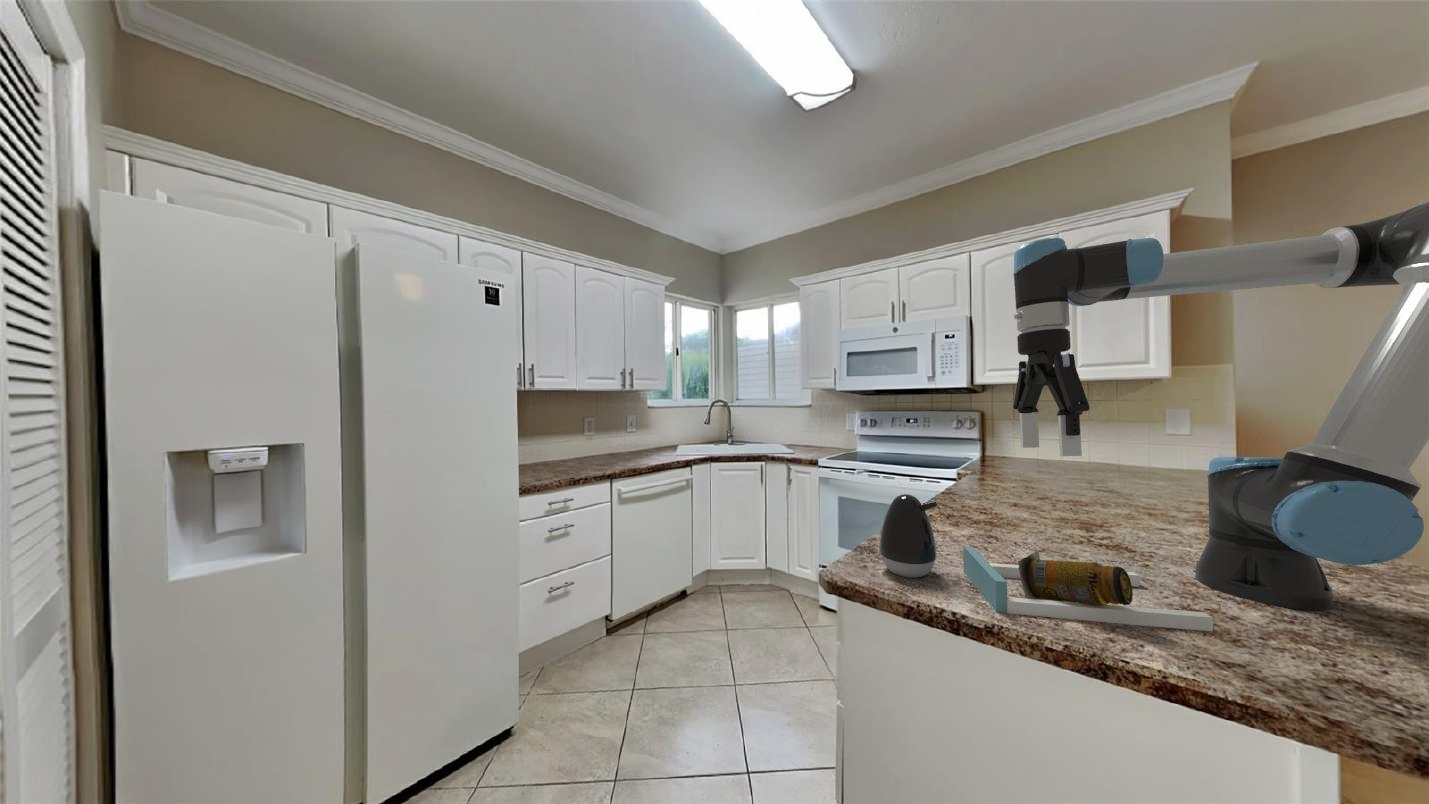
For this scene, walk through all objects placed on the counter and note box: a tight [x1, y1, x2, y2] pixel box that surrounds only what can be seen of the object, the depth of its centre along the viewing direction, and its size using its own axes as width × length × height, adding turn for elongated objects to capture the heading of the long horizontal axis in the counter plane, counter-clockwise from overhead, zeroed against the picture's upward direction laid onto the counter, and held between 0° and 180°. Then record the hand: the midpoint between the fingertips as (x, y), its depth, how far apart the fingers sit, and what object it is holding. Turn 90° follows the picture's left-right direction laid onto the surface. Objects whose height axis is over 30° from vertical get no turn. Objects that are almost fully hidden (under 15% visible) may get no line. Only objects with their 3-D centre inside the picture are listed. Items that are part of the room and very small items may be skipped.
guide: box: [962, 545, 1214, 633], centre depth 76 cm, size 28×17×5 cm, turn 76°
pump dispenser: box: [878, 493, 938, 579], centre depth 88 cm, size 10×10×15 cm
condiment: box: [1017, 550, 1134, 606], centre depth 71 cm, size 7×8×12 cm
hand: (1048, 451), depth 80 cm, fingers open, 13 cm apart
